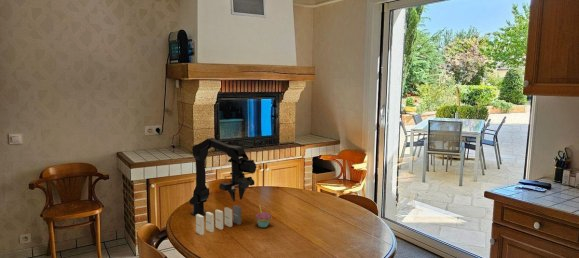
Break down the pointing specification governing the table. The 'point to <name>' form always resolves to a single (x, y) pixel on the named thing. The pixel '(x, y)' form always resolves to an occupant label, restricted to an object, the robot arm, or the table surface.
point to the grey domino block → (237, 214)
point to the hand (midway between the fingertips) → (237, 200)
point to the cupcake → (263, 218)
